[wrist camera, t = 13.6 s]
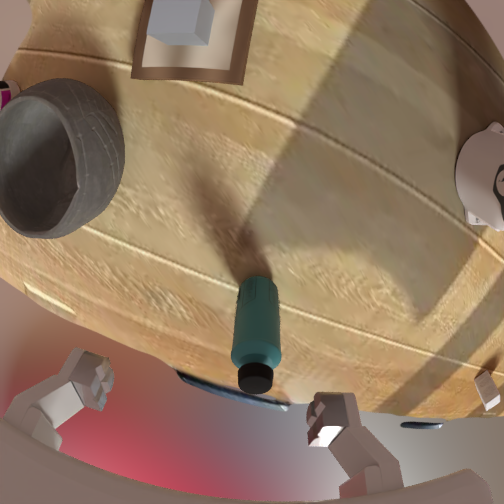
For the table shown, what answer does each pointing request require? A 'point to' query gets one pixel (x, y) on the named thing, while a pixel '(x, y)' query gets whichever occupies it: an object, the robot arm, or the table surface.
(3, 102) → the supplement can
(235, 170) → the table surface
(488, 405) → the small box
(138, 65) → the base
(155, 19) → the block
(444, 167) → the table surface
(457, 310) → the table surface
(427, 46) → the table surface
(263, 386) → the beverage bottle
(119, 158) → the bowl
